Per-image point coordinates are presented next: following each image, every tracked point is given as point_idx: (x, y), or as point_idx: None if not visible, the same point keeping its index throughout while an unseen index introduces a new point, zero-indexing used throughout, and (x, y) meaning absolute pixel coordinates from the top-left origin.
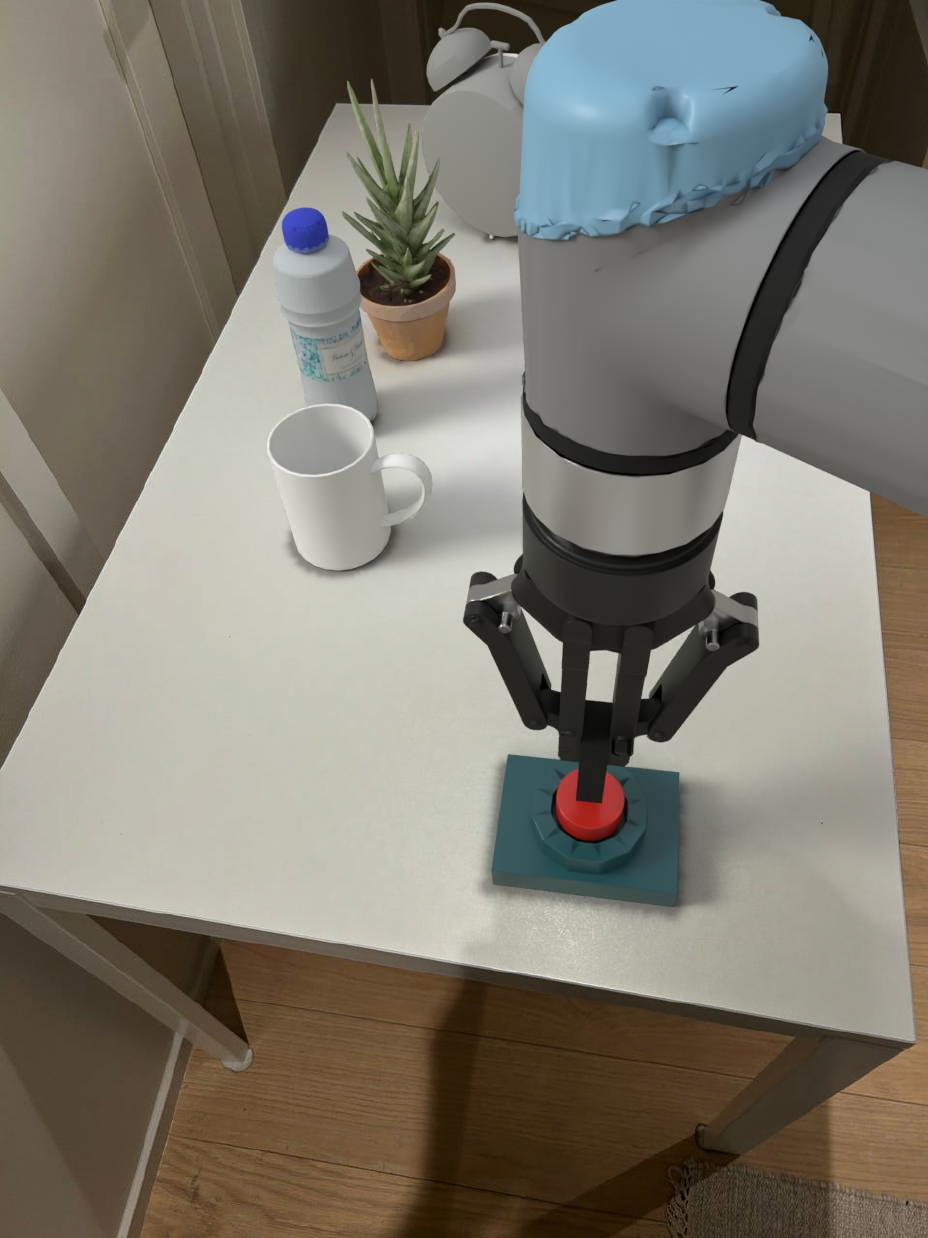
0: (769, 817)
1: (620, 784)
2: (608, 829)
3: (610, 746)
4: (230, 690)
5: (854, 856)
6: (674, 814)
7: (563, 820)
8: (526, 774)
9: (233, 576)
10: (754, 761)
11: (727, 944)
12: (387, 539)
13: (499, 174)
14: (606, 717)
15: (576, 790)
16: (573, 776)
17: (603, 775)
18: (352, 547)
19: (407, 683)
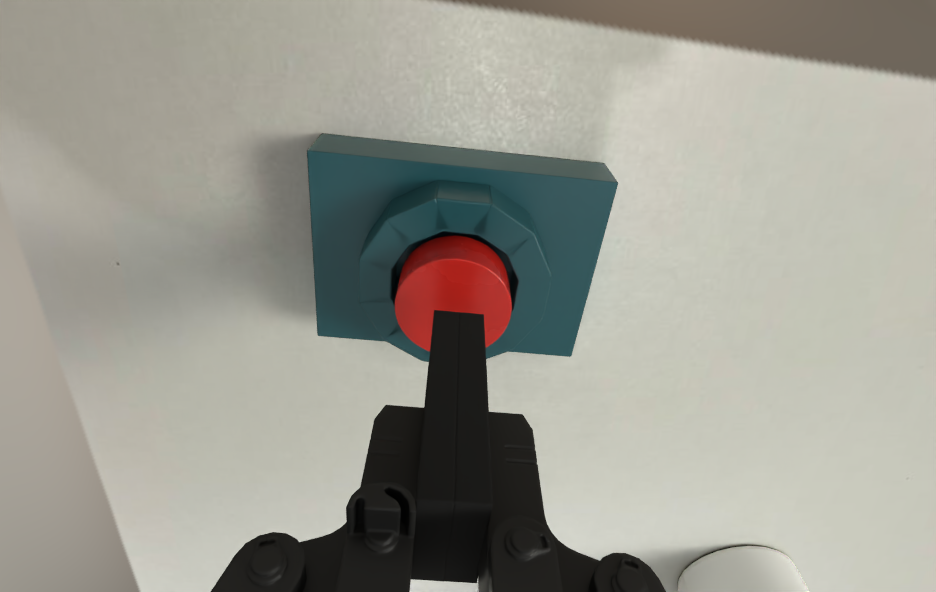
0: (192, 270)
1: None
2: (422, 257)
3: (412, 520)
4: (929, 419)
5: (60, 217)
6: (320, 276)
7: (499, 270)
8: (545, 329)
9: (880, 539)
10: (223, 342)
11: (230, 72)
12: (685, 577)
13: None
14: (424, 553)
15: None
16: None
17: (431, 388)
18: (742, 585)
19: (686, 429)
